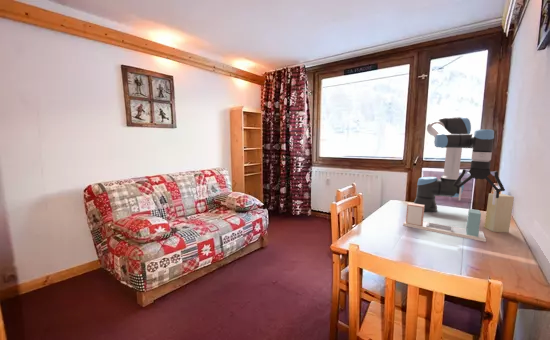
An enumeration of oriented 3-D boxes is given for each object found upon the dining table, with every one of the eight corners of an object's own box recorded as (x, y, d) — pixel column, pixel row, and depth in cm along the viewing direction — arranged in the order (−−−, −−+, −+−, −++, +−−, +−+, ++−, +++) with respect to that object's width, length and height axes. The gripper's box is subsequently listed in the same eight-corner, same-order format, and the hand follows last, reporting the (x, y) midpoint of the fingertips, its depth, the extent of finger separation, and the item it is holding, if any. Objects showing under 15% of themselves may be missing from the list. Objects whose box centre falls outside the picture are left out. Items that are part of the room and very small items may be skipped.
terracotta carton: (406, 222, 145) (408, 202, 143) (422, 225, 140) (424, 204, 139) (405, 224, 141) (407, 204, 139) (421, 227, 136) (423, 206, 135)
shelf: (407, 220, 153) (407, 215, 152) (482, 234, 132) (483, 228, 132) (402, 227, 140) (403, 222, 140) (485, 244, 119) (486, 237, 119)
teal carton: (466, 234, 127) (469, 212, 126) (465, 230, 134) (468, 208, 132) (478, 237, 124) (481, 214, 123) (477, 232, 131) (479, 210, 129)
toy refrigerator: (498, 230, 139) (503, 193, 136) (509, 235, 132) (514, 196, 129) (482, 229, 140) (487, 193, 137) (492, 234, 133) (497, 196, 130)
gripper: (450, 159, 128) (446, 199, 131) (516, 162, 114) (510, 207, 116) (450, 158, 134) (446, 197, 137) (513, 161, 120) (507, 204, 122)
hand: (475, 202), depth 127 cm, fingers open, 13 cm apart
